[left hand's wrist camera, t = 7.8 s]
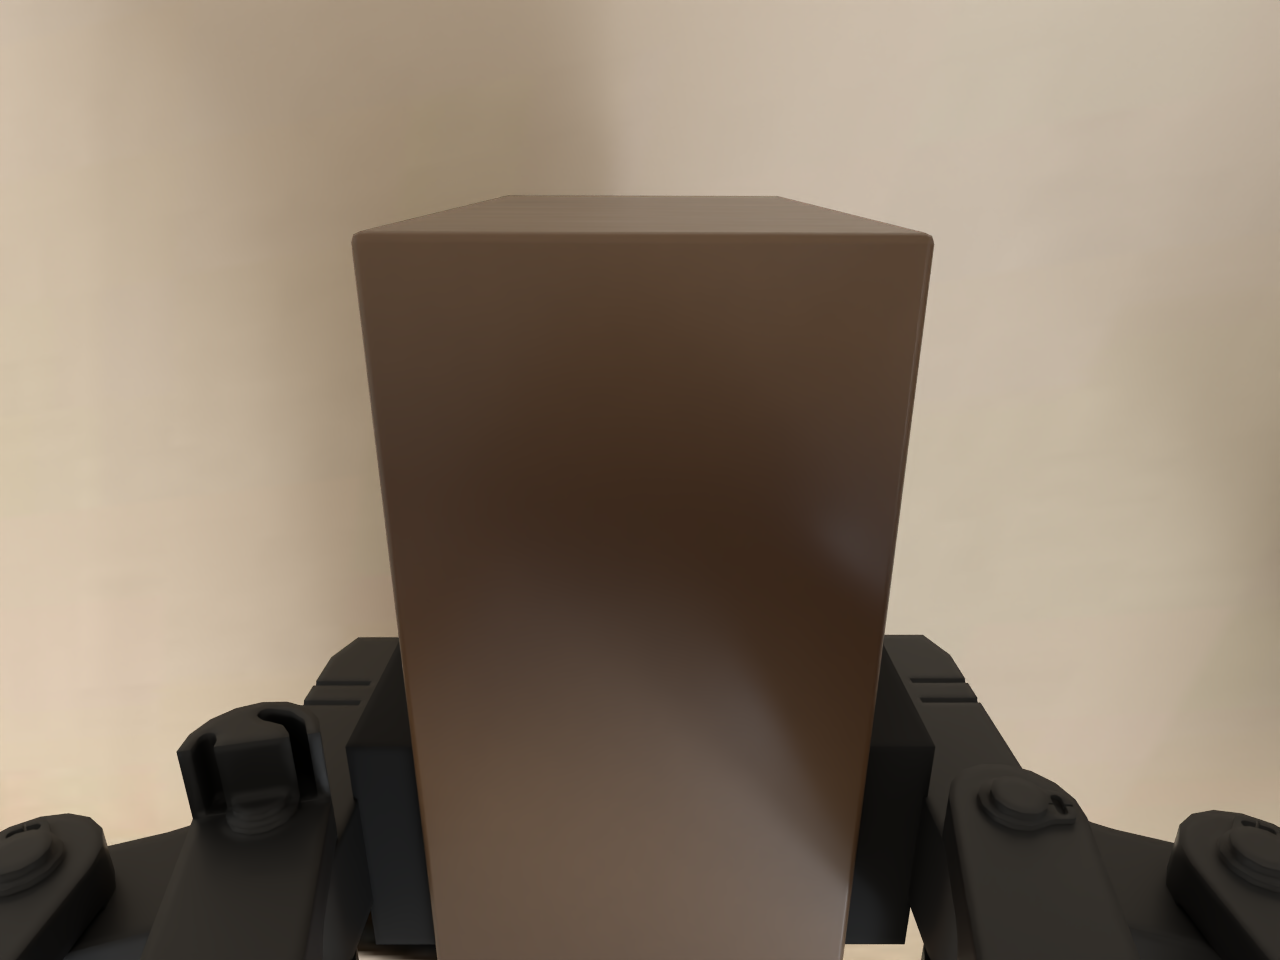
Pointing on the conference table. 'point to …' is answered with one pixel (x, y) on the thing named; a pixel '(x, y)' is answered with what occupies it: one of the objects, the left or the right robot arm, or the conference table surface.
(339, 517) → the conference table surface
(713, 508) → the beam
